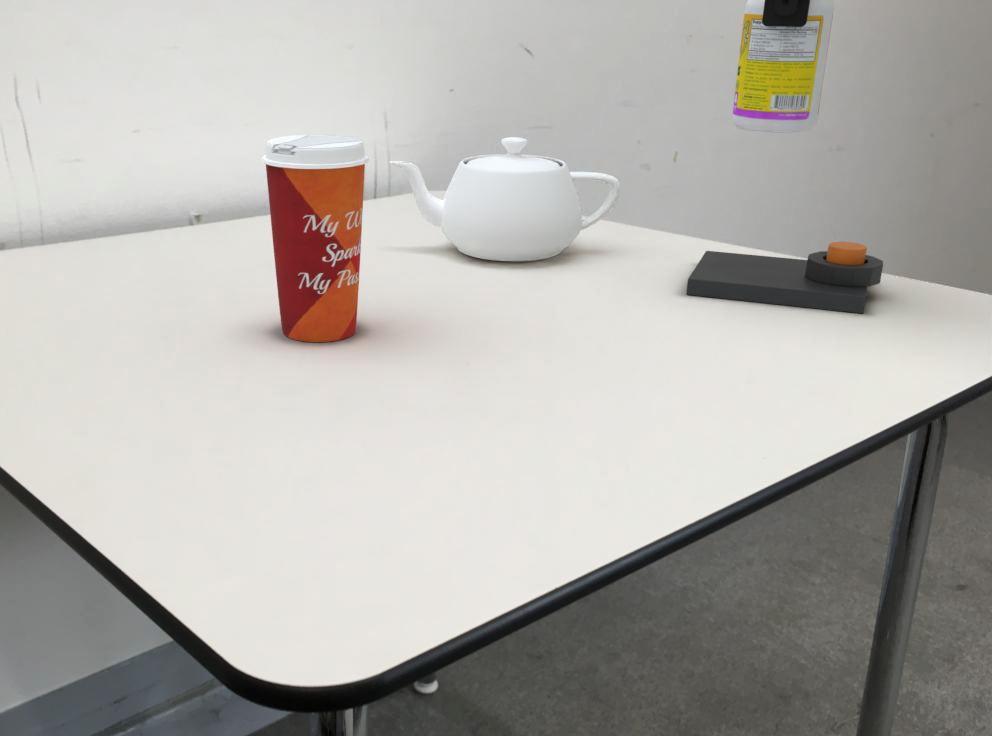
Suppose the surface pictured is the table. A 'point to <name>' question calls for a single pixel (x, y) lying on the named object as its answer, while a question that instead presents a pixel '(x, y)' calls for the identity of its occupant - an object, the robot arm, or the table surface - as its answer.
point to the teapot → (510, 204)
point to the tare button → (846, 253)
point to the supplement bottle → (781, 70)
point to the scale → (785, 280)
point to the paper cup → (316, 232)
